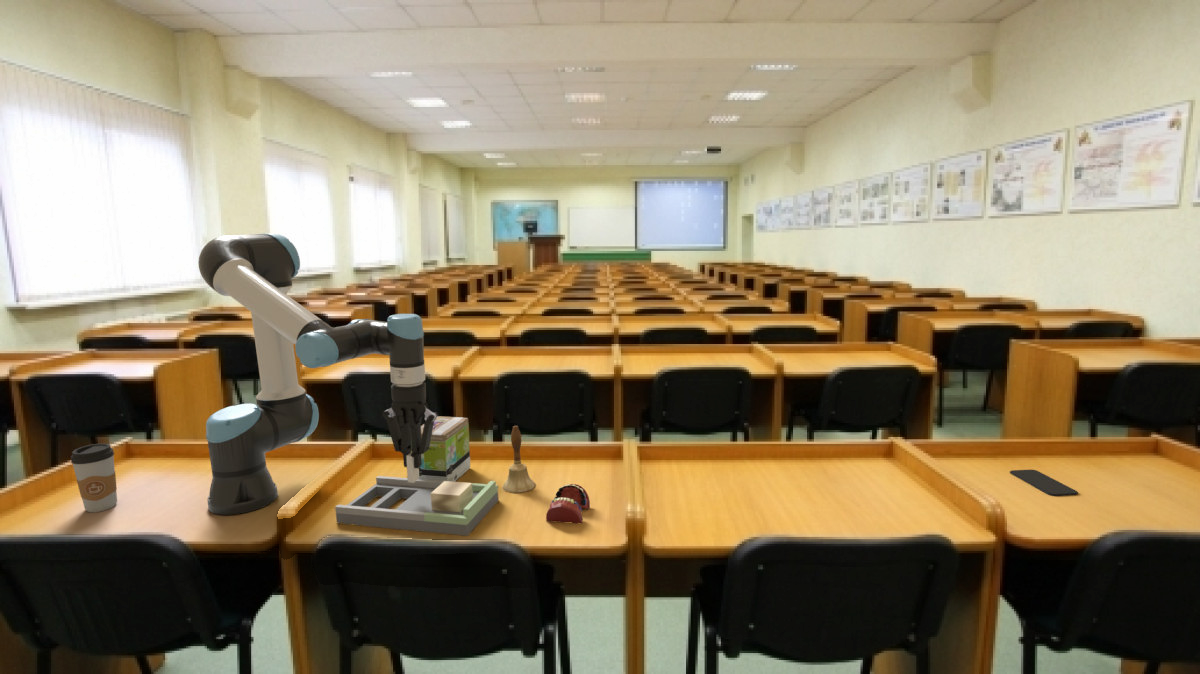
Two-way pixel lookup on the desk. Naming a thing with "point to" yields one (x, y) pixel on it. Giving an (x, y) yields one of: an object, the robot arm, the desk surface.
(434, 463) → the tea box
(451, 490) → the block
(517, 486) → the hand bell
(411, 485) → the lane deck
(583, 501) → the teeth model
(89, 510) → the coffee cup
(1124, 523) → the desk surface
